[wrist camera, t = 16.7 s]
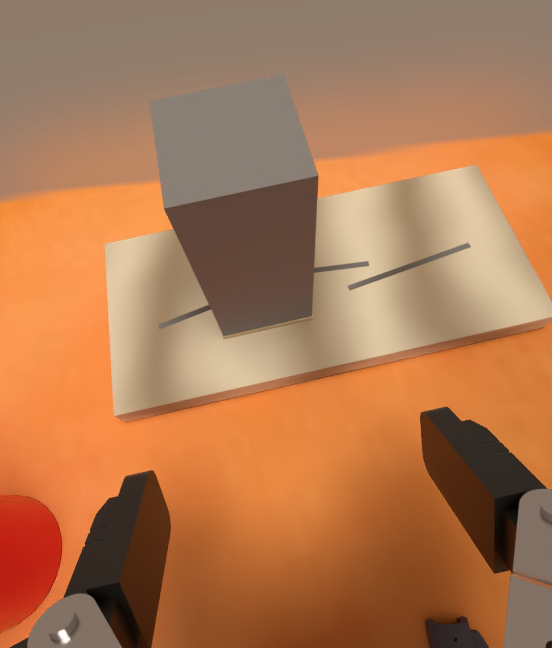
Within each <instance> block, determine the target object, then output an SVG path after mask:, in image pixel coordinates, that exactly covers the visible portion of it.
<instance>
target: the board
mask: <svg viewBox="0 0 552 648" xmlns="http://www.w3.org/2000/svg"><path fill="white" fill-rule="evenodd" d="M105 260H106V279H107V297H108V316H109V334H110V353H111V372H112V390H113V409H114V416H115V417H117V418H119V419H121V420H123V421H125V422H129V421H133V420H137V419H142V418H146V417H151V416H155V415H159V414H164V413H168V412H173V411H177V410H182V409H186V408H190V407H195V406H199V405H204V404H208V403H212V402H217V401H221V400H226V399H230V398H235V397H239V396H243V395H248V394H252V393H257V392H261V391H265V390H270V389H274V388H279V387H283V386H288V385H292V384H296V383H301V382H305V381H310V380H314V379H318V378H323V377H327V376H332V375H336V374H340V373H345V372H349V371H354V370H358V369H363V368H367V367H371V366H376V365H380V364H385V363H389V362H393V361H398V360H402V359H407V358H411V357H416V356H420V355H424V354H429V353H433V352H438V351H442V350H446V349H451V348H455V347H460V346H464V345H469V344H473V343H477V342H482V341H486V340H491V339H495V338H499V337H504V336H508V335H513V334H517V333H522V332H526V331H530V330H535V329H539V328H543V327H545V326H546V325H547V324H549V323H550V322H551V321H552V301H551V299H550V297H549V296H548V294H547V292H546V290H545V288H544V286H543V285H542V283H541V281H540V279H539V277H538V276H537V274H536V272H535V270H534V268H533V266H532V265H531V263H530V261H529V259H528V257H527V256H526V254H525V252H524V250H523V248H522V246H521V245H520V243H519V241H518V239H517V237H516V236H515V234H514V232H513V230H512V228H511V226H510V225H509V223H508V221H507V219H506V217H505V215H504V214H503V212H502V210H501V208H500V206H499V205H498V203H497V201H496V199H495V197H494V195H493V194H492V192H491V190H490V188H489V186H488V185H487V183H486V181H485V179H484V177H483V175H482V174H481V172H480V170H479V168H478V166H477V165H473V166H468V167H463V168H459V169H454V170H449V171H445V172H440V173H435V174H430V175H426V176H421V177H416V178H412V179H407V180H402V181H398V182H393V183H388V184H384V185H379V186H374V187H369V188H365V189H360V190H355V191H351V192H346V193H341V194H337V195H332V196H327V197H323V198H318V199H317V216H316V239H315V261H314V283H313V306H312V314H313V320H309V321H304V322H300V323H295V324H291V325H287V326H282V327H278V328H273V329H269V330H264V331H260V332H255V333H251V334H246V335H242V336H237V337H233V338H228V339H223V336H222V332H221V329H220V327H219V325H218V323H217V321H216V319H215V317H214V314H213V312H212V310H211V308H210V306H209V304H208V302H207V299H206V297H205V295H204V293H203V291H202V289H201V287H200V284H199V282H198V280H197V278H196V276H195V274H194V272H193V269H192V267H191V265H190V263H189V261H188V259H187V257H186V254H185V252H184V250H183V248H182V246H181V244H180V242H179V239H178V237H177V235H176V233H175V231H174V229H173V230H168V231H163V232H158V233H154V234H149V235H144V236H140V237H135V238H130V239H126V240H121V241H116V242H112V243H107V244H105Z"/></svg>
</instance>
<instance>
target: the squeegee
mask: <svg viewBox="0 0 552 648" xmlns="http://www.w3.org/2000/svg"><path fill="white" fill-rule="evenodd" d="M426 627H427V632H428V637H429V643H430V648H489V647H488V645H487V644H486V642H485V641H484V639H483V637H482V636H481V635H480V633H479V632H478V631H476V630H470V628H469V624H468V620H467V618H466V617H459V618H457V623H456V624H439V623H436V622H435V620H426Z"/></svg>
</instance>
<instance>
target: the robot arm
mask: <svg viewBox="0 0 552 648" xmlns="http://www.w3.org/2000/svg"><path fill="white" fill-rule="evenodd" d="M420 423H421V437H422V451H423V459H424V463H425V466H426V468H427V471H428V473H429V475H430V477H431V478H432V480H433V481H434V483H435V484H436V486H437V487H438V489H439V490H440V492H441V493H442V495H443V496H444V498H445V499H446V501H447V503H448V504H449V506H450V507H451V509H452V510H453V512H454V513H455V515H456V516H457V518H458V519H459V521H460V522H461V524H462V525H463V527H464V528H465V530H466V531H467V533H468V535H469V536H470V538H471V539H472V541H473V542H474V544H475V545H476V547H477V548H478V550H479V551H480V553H481V554H482V556H483V557H484V559H485V560H486V562H487V563H488V565H489V566H490V568H491V570H492V571H493V573H494V574H495V573H499V572H504V571H508V570H510V571H511V578H510V588H509V598H508V609H507V619H506V629H505V639H504V648H552V490H551V489H547V488H546V487H545V486H544V485H543V484H542V483H541V482H540V481H539V480H538V479H537V478H536V477H535V476H534V475H533V474H532V473H531V472H530V471H529V470H528V469H527V468H526V467H525V466H524V465H523V464H522V463H521V462H520V461H519V460H518V459H517V458H516V457H515V456H514V455H513V454H512V453H509V450H508V449H507V448H506V447H505V446H504V445H503V444H502V443H500V442H499V440H498V439H497V438H496V437H495V436H494V435H493V434H492V433H491V432H490V431H489V430H488V429H487V428H485V427H483V426H481V425H479V424H477V423H475V422H473V421H471V420H466V421H462V422H461V420H460V419H459V418H458V417H457V416H456V415H455V414H454V413H453V412H452V411H451V410H450V409H449V408H448V407H443V408H438V409H434V410H429V411H424V412H422V413H421V415H420ZM170 530H171V525H170V515H169V511H168V508H167V505H166V502H165V499H164V497H163V494H162V491H161V488H160V485H159V483H158V480H157V477H156V475H155V473H154V471H152V470H151V471H147V472H142V473H138V474H133V475H128V476H126V477H125V478H124V481H123V484H122V486H121V489H120V492H119V495H118V496H117V497H113V498H109V499H108V500H107V502H106V503H105V504H104V505H103V506H102V508H101V509H100V510H99V511H98V513H97V514H96V516H95V519H94V521H93V524H92V526H91V529H90V533H89V534H88V537H87V539H86V542H85V547H83V549H82V552H81V555H80V557H79V560H78V562H77V565H76V567H75V570H74V572H73V575H72V577H71V580H70V583H69V585H68V588H67V590H66V593H65V595H64V598H63V599H61V600H59V601H58V602H56V603H55V604H53V605H52V606H51V607H50V608H49V609H47V610H46V611H45V612H44V613H43V614H42V616H41V617H40V618H39V619H38V621H37V622H36V623H35V625H34V627H33V628H32V630H31V633H30V635H29V637H28V638H26V639H25V640H23V641H21V642H19V643H17V644H15V645H14V646H12V647H10V648H151V646H152V640H153V634H154V628H155V622H156V616H157V610H158V604H159V598H160V592H161V586H162V580H163V574H164V568H165V562H166V556H167V550H168V544H169V538H170Z"/></svg>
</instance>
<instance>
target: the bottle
mask: <svg viewBox="0 0 552 648" xmlns="http://www.w3.org/2000/svg"><path fill="white" fill-rule="evenodd" d="M61 550H62V549H61V536H60V531H59V527H58V524H57V522H56V520H55V518H54V516H53V515H52V513H51V512H50V511H49V510H48V508H47V507H46V506H44V505H43V504H42V503H40V502H39V501H37V500H34V499H32V498H30V497H24V496H16V495H0V632H3V631H5V630H8V629H9V628H11V627H13V626H15V625H17V624H19V623H20V622H22V621H23V620H24V619H25V618H27V617H28V616H29V615H31V614H32V613H33V611H34V610H35V609H36V608H37V607H38V606H39V605H40V604H41V603H42V601H43V600H44V598H45V597H46V595H47V594H48V592H49V591H50V589H51V586H52V584H53V582H54V580H55V578H56V575H57V571H58V568H59V565H60V558H61Z"/></svg>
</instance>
